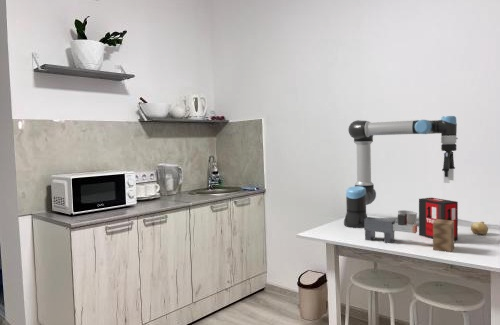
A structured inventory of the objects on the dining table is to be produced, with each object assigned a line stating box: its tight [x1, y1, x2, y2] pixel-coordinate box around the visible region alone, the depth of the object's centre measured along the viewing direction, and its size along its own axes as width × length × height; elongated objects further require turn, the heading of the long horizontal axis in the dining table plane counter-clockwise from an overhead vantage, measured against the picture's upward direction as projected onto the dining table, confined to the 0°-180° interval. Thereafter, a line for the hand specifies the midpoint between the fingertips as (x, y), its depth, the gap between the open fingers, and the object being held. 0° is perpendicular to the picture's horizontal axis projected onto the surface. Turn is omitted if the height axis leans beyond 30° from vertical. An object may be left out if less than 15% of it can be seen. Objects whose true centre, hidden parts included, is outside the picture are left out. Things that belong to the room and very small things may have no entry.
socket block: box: [432, 219, 455, 253], centre depth 178 cm, size 8×9×13 cm
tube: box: [392, 213, 418, 234], centre depth 192 cm, size 21×5×8 cm, turn 53°
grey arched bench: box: [363, 216, 396, 244], centre depth 197 cm, size 14×7×11 cm, turn 53°
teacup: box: [396, 209, 418, 225], centre depth 229 cm, size 14×11×8 cm
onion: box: [470, 221, 489, 236], centre depth 203 cm, size 8×8×7 cm
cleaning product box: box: [418, 197, 459, 242], centre depth 198 cm, size 16×9×20 cm, turn 21°
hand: (448, 181), depth 211 cm, fingers open, 13 cm apart
